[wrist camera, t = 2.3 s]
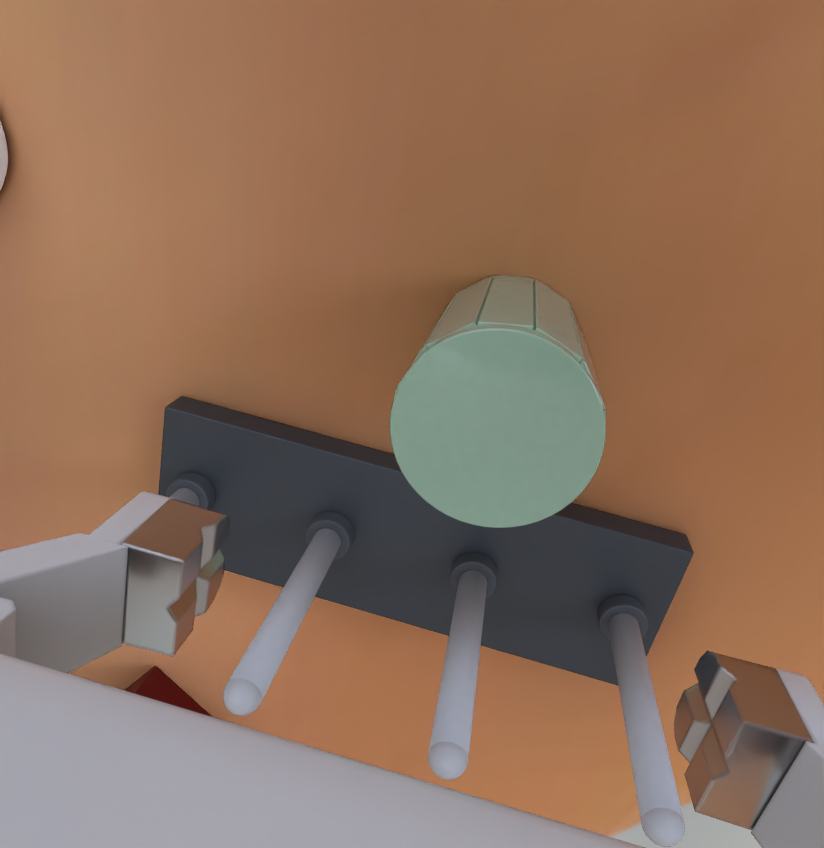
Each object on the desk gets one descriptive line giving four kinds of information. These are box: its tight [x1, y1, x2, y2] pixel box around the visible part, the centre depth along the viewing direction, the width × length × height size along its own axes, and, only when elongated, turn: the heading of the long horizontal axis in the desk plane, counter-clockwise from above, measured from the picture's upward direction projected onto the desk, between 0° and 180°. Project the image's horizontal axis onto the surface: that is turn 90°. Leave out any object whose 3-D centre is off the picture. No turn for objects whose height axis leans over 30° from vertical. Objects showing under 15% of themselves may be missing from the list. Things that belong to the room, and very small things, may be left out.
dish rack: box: [158, 397, 694, 847], centre depth 25 cm, size 23×8×12 cm, turn 77°
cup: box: [390, 275, 606, 528], centre depth 23 cm, size 6×6×9 cm
